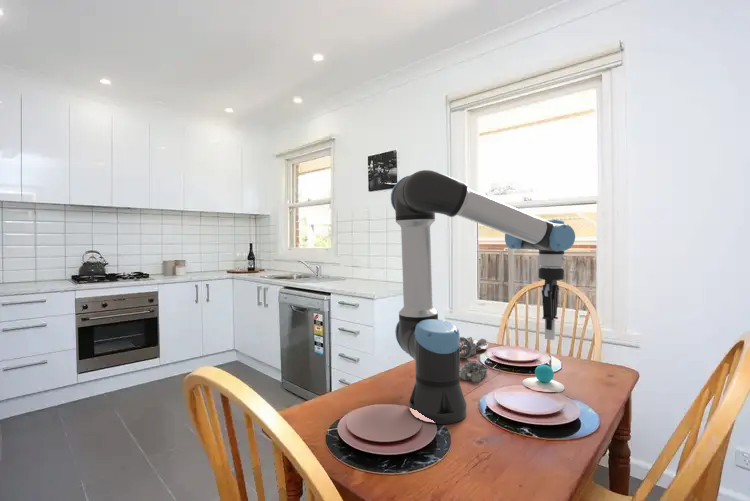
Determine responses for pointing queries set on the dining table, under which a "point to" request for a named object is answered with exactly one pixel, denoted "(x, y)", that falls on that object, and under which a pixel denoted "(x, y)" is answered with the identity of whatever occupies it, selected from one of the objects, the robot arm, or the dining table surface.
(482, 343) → the spaceship
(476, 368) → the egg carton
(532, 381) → the disc
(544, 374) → the ball
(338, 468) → the dining table surface
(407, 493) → the dining table surface
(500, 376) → the dining table surface
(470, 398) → the dining table surface
